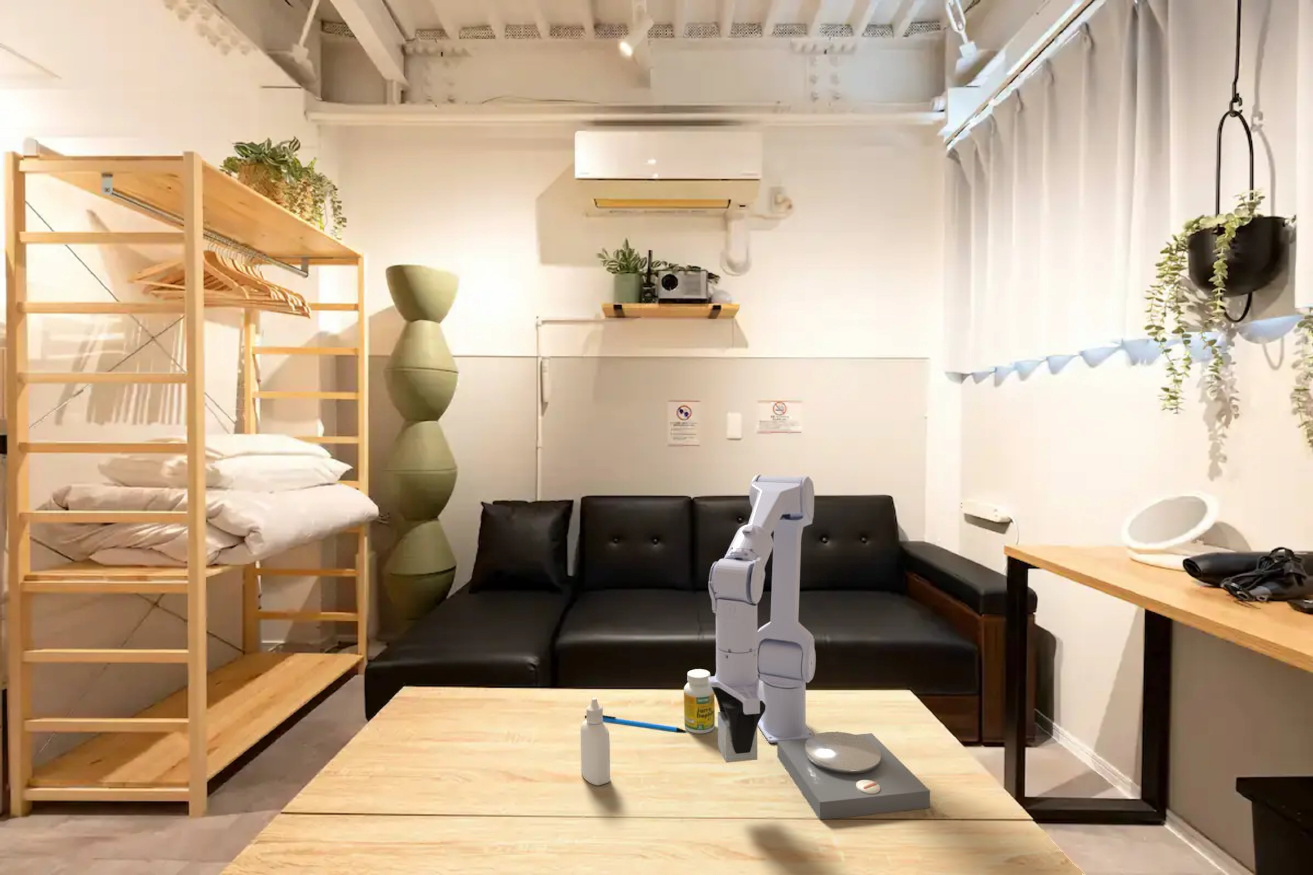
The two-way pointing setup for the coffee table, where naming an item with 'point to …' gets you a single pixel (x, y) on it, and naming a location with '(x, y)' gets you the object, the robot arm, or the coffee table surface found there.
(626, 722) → the pen
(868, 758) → the pan
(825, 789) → the scale base
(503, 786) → the coffee table surface
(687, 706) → the supplement bottle
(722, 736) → the block
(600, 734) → the eye dropper bottle
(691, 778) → the coffee table surface
